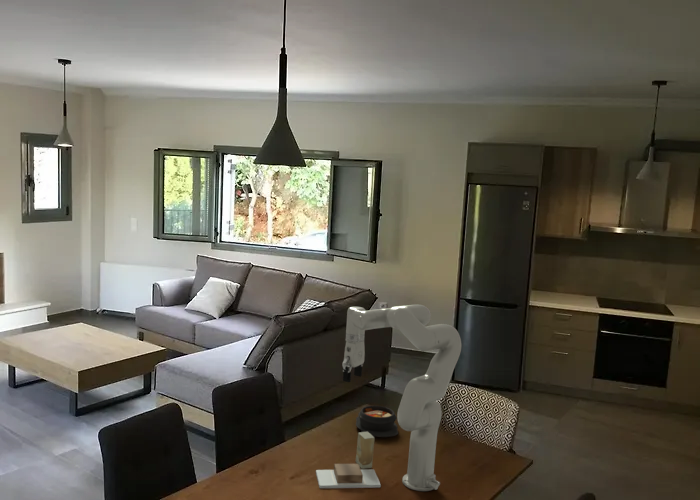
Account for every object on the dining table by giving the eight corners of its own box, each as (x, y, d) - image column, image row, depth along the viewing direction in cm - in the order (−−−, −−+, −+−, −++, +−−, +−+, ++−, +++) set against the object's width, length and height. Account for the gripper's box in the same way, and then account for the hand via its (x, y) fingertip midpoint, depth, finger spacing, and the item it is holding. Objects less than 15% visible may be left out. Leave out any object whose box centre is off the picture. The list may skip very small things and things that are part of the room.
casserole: (346, 420, 285) (347, 402, 284) (383, 417, 292) (384, 400, 291) (368, 443, 262) (370, 423, 261) (408, 439, 269) (409, 420, 268)
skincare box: (355, 462, 243) (357, 432, 241) (365, 460, 245) (367, 430, 243) (362, 469, 237) (364, 438, 236) (372, 468, 239) (375, 437, 237)
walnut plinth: (357, 471, 233) (358, 463, 233) (362, 482, 224) (362, 474, 224) (333, 471, 231) (334, 463, 231) (337, 483, 223) (337, 475, 222)
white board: (373, 471, 236) (374, 469, 236) (380, 487, 224) (380, 484, 224) (315, 472, 232) (315, 469, 232) (319, 488, 220) (319, 485, 220)
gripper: (353, 343, 244) (350, 385, 245) (372, 335, 259) (369, 375, 261) (336, 339, 247) (333, 382, 249) (356, 332, 263) (353, 372, 264)
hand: (352, 378), depth 255 cm, fingers open, 9 cm apart
